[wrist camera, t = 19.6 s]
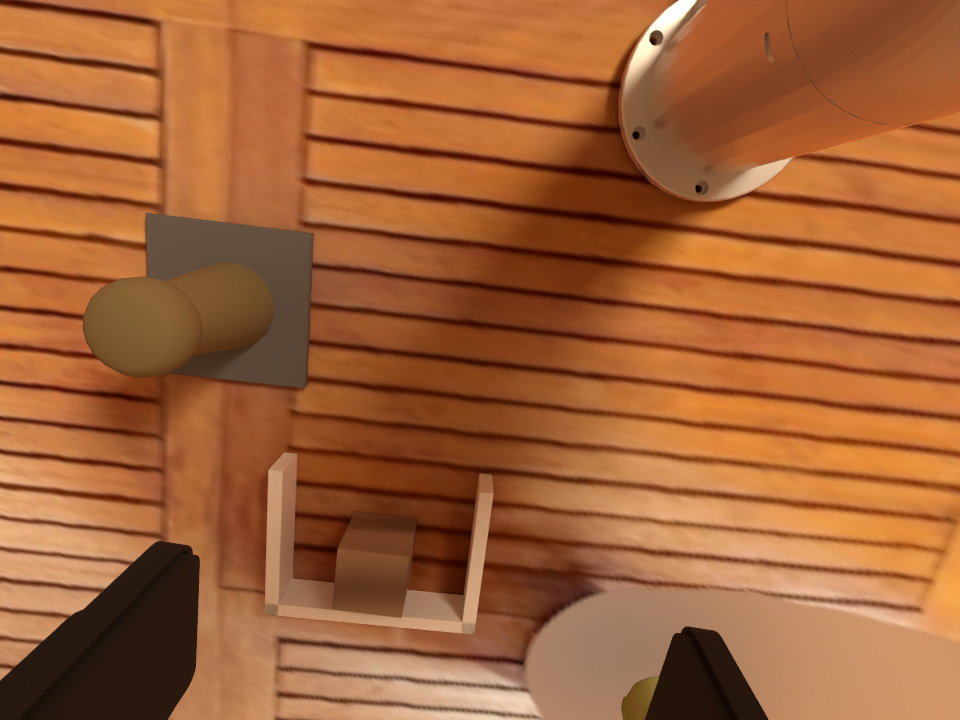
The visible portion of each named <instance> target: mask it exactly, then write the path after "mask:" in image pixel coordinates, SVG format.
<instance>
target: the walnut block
mask: <svg viewBox="0 0 960 720" xmlns="http://www.w3.org/2000/svg"><path fill="white" fill-rule="evenodd" d="M417 520H418V519H413V518H405V517H397V516H389V515H381V514H373V513H366V512H358V511H354V514H353V516H352V518H351V520H350V522H349V525H348V527H347V529H346V531H345V533H344V536H343V538H342V540H341V542H340V544H339V547H338V550H337V561H336V572H335V582H334V593H333V604H332V610H338V611H346V612H355V613H363V614H371V615H380V616H388V617H396V618H402V614H403V608H404V603H405V598H406V593H407V588H408V583H409V578H410V573H411V566H412V558H413V550H414V543H415V535H416V528H417Z"/></svg>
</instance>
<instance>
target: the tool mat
mask: <svg viewBox="0 0 960 720" xmlns="http://www.w3.org/2000/svg"><path fill="white" fill-rule="evenodd" d="M313 236H314V234H313V233H305V232H297V231H289V230H281V229H273V228H265V227H257V226H249V225H241V224H232V223H224V222H216V221H208V220H200V219H192V218H184V217H176V216H168V215H160V214H152V213H146V242H147V273H148V277H149V278H154V279H158V280H162V281H166V280H169V279H172V278H175V277H177V276H180V275H183V274H186V273H189V272H191V271H194V270H197V269H200V268H202V267H205V266H208V265H211V264H214V263H220V262H232V263H237V264H241V265H244V266H246V267H247V268H249V269H251V270H253V271H254V272H256V273H257V274H258V275H259V276H260V277H261V279H262V280H263V281H264V282H265V283H266V285H267V287H268V289H269V290H270V292H271V294H272V298H273V304H274V315H273V322H272V324H271V326H270V328H269V330H268V332H267V333H266V334H265V335H264V336H263V337H262V338H261V339H260V340H259V341H258V342H256V343H253V344H251V345H249V346H246V347H241V348H235V349H229V350H223V351H217V352H211V353H204V354H198V355H193V356H192V357H191V358H190V359H189V360H188V361H187V362H186V363H185V364H184V365H183V366H182V367H181V368H178V369H176V370H174V371H172V372H169V373H173V374H182V375H191V376H200V377H209V378H218V379H227V380H236V381H245V382H253V383H262V384H271V385H280V386H289V387H298V388H305V387H306V386H307V376H308V353H309V329H310V306H311V283H312V260H313Z"/></svg>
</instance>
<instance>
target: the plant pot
mask: <svg viewBox="0 0 960 720" xmlns="http://www.w3.org/2000/svg"><path fill="white" fill-rule="evenodd" d="M658 679H659V677H651V678H646V679H643V680H641V681H639V682H637V683H636V684H635V685H634V686H633V687H632V689H631V691H630V692H629V693H628V695H627V696H626V697H624V698H623V701H622V716H623V720H645V717H646V714H647V711H648V708H649V705H650V702H651V700H652V697H653V694H654V691H655V688H656V685H657V682H658Z"/></svg>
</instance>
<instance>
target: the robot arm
mask: <svg viewBox="0 0 960 720" xmlns="http://www.w3.org/2000/svg"><path fill="white" fill-rule="evenodd" d="M651 39H652V40H654V42H655V46H654V45H651V43H650V42H649V40H651ZM958 112H960V0H677V1H676V2H674V3H673V4H672V5H670V6H669V7H667V8H666V9H665V10H664V11H663V12H662V13H661V14H660V15H659V16H658V17H657V18H656V19H655V20H654V21H653V22H652V23H651V24H650V25H649V26H648V28H647V29H646V30H645V32H644V33H643V34H642V36H641V37H640V38H639V40H638V41H637V43H636V45H635V47H634V49H633V50H632V52H631V54H630V56H629V58H628V60H627V63H626V66H625V69H624V72H623V75H622V77H621V83H620V89H619V95H618V120H619V125H620V131H621V136H622V139H623V142H624V144H625V147H626V150H627V152H628V155H629V156H630V158H631V159H632V161H633V163H634V164H635V166H636V167H637V169H638V170H639V171H640V172H641V173H642V174H643V176H644V177H645V178H646V179H647V180H648V181H649V182H650V183H652V184H653V185H655V186H656V187H657V188H659V189H660V190H662V191H663V192H665V193H667V194H670V195H672V196H675V197H677V198H679V199H683V200H689V201H694V202H716V201H722V200H728V199H732V198H735V197H738V196H742V195H745V194H748V193H750V192H752V191H753V190H755V189H757V188H759V187H761V186H763V185H765V184H766V183H767V182H769V181H770V180H771V179H772V178H774V177H775V176H776V175H777V174H779V173H780V172H781V171H782V170H783V169H784V168H785V167H786V166H787V165H788V164H789V163H790V162H791V160H792V159H793V158H794V157H796V156H800V155H803V154H807V153H811V152H814V151H818V150H822V149H826V148H829V147H833V146H837V145H840V144H844V143H848V142H852V141H855V140H859V139H863V138H866V137H870V136H874V135H878V134H881V133H885V132H889V131H892V130H896V129H900V128H904V127H907V126H911V125H915V124H918V123H922V122H926V121H930V120H933V119H937V118H940V117H943V116H947V115H951V114H954V113H958ZM634 132H635V133H637V134H638V139H637V140H635V139H634V138H633V137H632V134H633V133H634ZM696 185H697V186H698V187H699V192H698V193H697V192H696V191H695V187H696ZM199 570H200V559H199V556H197V555H193V551H192V548H191V546H188V545H182V544H176V543H170V542H164V541H158V542H156V543H154V544H153V545H152V546H150V547H149V548H148V549H147V550H146V551H145V552H144V553H143V554H142V555H141V556H140V557H139V558H138V559H137V560H136V561H135V562H133V563H132V564H131V565H130V566H129V567H128V568H127V569H126V570H125V571H124V572H123V573H122V574H121V575H120V576H119V577H117V578H116V579H115V580H114V581H113V582H112V583H111V584H110V585H109V586H108V587H107V588H106V589H105V590H104V591H103V592H102V593H100V594H99V595H98V596H97V597H96V598H95V599H94V600H93V601H92V602H91V603H90V604H89V605H88V606H87V607H86V608H84V609H83V610H81V611H79V612H76V613H74V614H73V615H72V616H71V617H69V618H68V619H67V620H65V621H64V622H63V623H62V624H61V625H60V626H59V627H58V628H57V629H56V630H55V631H54V632H52V633H51V634H50V635H49V636H48V637H47V638H46V639H45V640H44V641H43V642H42V643H41V644H40V645H38V646H37V647H36V648H35V649H34V650H33V651H32V652H31V653H30V654H29V655H28V656H27V657H25V658H24V659H23V660H22V661H21V662H20V663H19V664H18V665H17V666H16V667H15V668H14V669H12V670H11V671H10V672H9V673H8V674H7V675H6V676H5V677H4V678H3V679H2V680H1V681H0V720H167V719H168V718H169V716H170V715H171V713H172V712H173V710H174V708H175V707H176V705H177V704H178V702H179V701H180V699H181V698H182V696H183V695H184V693H185V692H186V690H187V688H188V687H189V685H190V683H191V681H192V678H193V675H194V672H195V668H196V650H197V624H198V597H199ZM645 720H768V718H767V716H766V714H765V713H764V711H763V709H762V707H761V706H760V704H759V702H758V701H757V699H756V697H755V695H754V693H753V692H752V690H751V688H750V686H749V685H748V683H747V681H746V679H745V678H744V676H743V674H742V672H741V671H740V669H739V667H738V666H737V664H736V662H735V660H734V659H733V657H732V655H731V653H730V651H729V650H728V648H727V646H726V644H725V643H724V641H723V639H722V637H721V636H720V635H719V633H717V632H716V631H713V630H706V629H700V628H694V627H685V628H683V629H682V632H681V633H676V634H674V636H673V638H672V640H671V643H670V647H669V649H668V652H667V655H666V658H665V661H664V664H663V667H662V670H661V673H660V676H659V679H658V682H657V685H656V688H655V691H654V694H653V697H652V700H651V702H650V705H649V708H648V711H647V714H646V717H645Z"/></svg>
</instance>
